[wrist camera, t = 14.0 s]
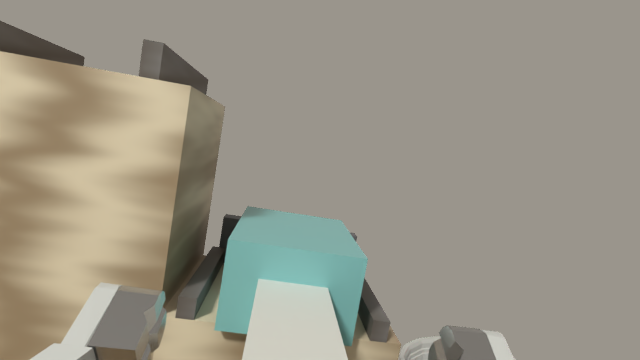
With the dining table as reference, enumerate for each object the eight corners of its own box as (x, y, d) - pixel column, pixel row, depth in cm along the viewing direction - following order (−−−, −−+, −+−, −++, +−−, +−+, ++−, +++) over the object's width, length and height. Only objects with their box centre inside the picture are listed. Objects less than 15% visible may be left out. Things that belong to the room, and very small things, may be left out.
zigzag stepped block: (319, 510, 28) (392, 113, 26) (335, 682, 19) (448, 97, 17) (0, 489, 26) (48, 50, 23) (-151, 673, 17) (-98, -8, 14)
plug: (330, 280, 25) (341, 220, 24) (425, 581, 8) (464, 400, 7) (238, 267, 24) (247, 206, 24) (123, 565, 7) (151, 367, 7)
